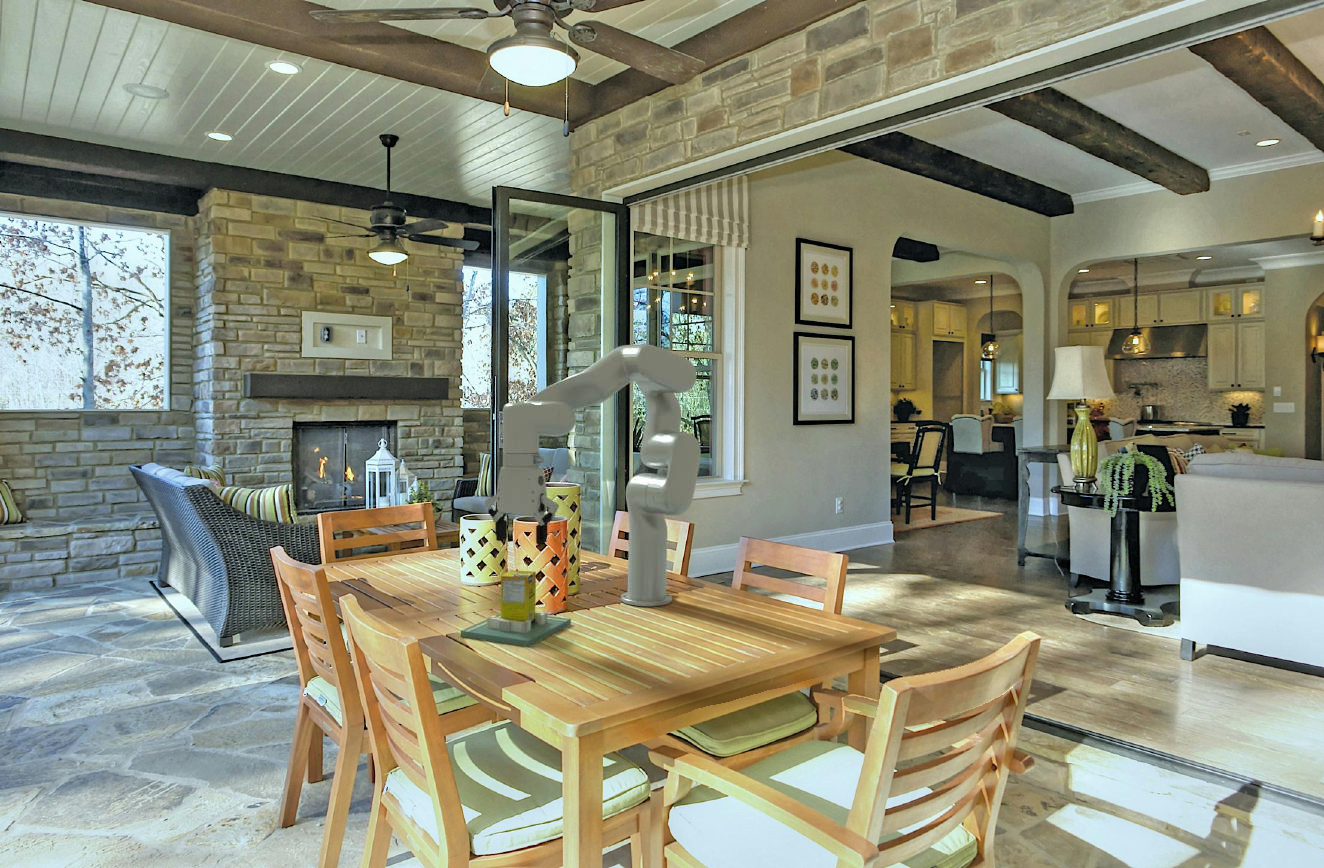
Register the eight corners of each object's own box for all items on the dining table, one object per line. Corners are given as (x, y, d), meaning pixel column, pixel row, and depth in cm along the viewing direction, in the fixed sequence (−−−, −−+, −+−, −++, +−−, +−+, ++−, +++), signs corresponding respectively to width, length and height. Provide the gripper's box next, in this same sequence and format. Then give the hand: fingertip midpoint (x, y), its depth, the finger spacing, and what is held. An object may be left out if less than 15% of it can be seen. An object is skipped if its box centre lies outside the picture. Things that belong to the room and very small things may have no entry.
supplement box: (535, 621, 173) (536, 570, 172) (527, 628, 167) (528, 576, 166) (508, 619, 173) (509, 569, 173) (499, 627, 168) (500, 575, 167)
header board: (507, 615, 181) (508, 601, 181) (570, 624, 176) (571, 609, 176) (460, 636, 165) (460, 621, 164) (528, 646, 159) (528, 631, 159)
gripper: (565, 461, 169) (565, 541, 170) (495, 458, 175) (496, 535, 176) (548, 464, 162) (548, 547, 163) (475, 461, 168) (476, 541, 169)
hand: (521, 541), depth 170 cm, fingers open, 9 cm apart
